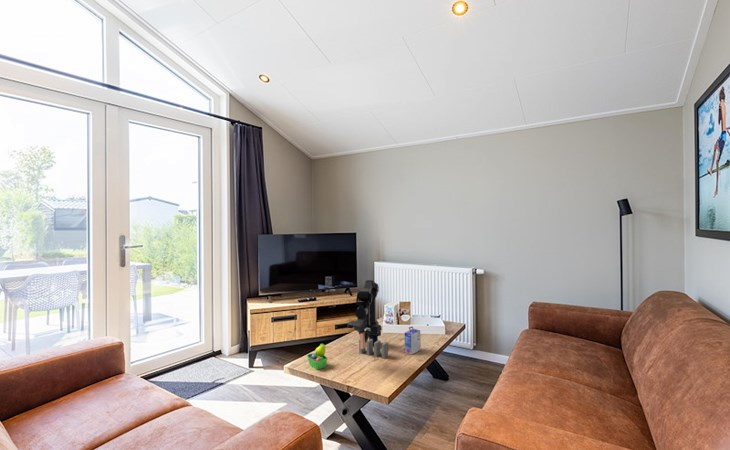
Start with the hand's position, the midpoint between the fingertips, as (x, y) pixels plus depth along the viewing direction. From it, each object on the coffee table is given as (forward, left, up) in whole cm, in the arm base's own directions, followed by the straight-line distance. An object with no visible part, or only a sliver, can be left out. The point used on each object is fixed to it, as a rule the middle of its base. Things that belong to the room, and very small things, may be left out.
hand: (364, 341), depth 186 cm
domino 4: (-15, 0, -13) cm, 20 cm away
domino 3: (-15, -5, -13) cm, 20 cm away
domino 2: (-15, -10, -13) cm, 22 cm away
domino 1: (+1, 0, -3) cm, 3 cm away
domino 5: (-15, +5, -13) cm, 20 cm away
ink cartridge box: (-31, +16, -13) cm, 37 cm away
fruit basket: (+13, -22, -13) cm, 29 cm away
